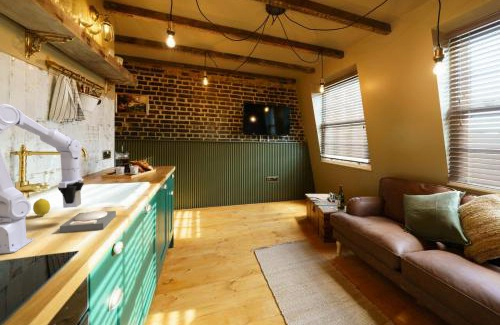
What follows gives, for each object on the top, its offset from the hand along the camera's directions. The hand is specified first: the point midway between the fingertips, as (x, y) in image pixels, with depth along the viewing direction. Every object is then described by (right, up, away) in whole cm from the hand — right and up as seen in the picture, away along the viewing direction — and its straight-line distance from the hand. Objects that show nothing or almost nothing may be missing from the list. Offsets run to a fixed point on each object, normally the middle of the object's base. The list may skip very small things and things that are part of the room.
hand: (72, 201), depth 94 cm
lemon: (-19, -8, +8) cm, 22 cm away
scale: (+8, -9, 0) cm, 12 cm away
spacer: (0, -2, 0) cm, 2 cm away
